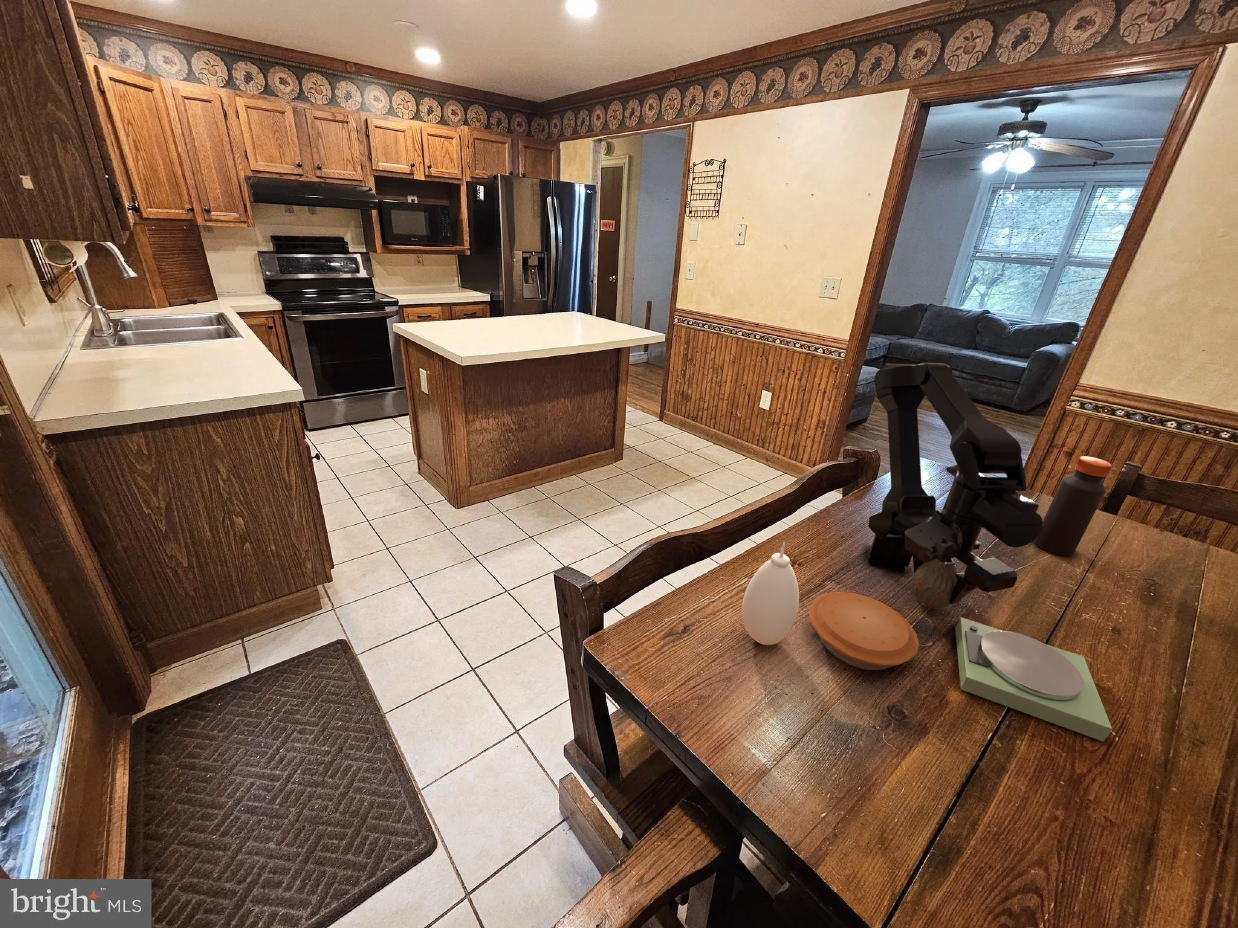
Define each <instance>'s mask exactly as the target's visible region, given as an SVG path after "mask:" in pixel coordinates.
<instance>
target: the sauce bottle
mask: <svg viewBox="0 0 1238 928" xmlns="http://www.w3.org/2000/svg"><path fill="white" fill-rule="evenodd" d="M785 547H786V542H785V541H783V543H782V545H781V548H780V552H776V553H773V554H772V555H771V556H770V559H768V560H766V562H764V563H763V564H762V565H761V566H760V567H759V568H758V569H757V570H756V572H755V573H754V574H753V576H752V578H751V579H750V581H749V583H748V585H747V586H746V588H745V591H744V595H743V598H742V603H741V619H742V623H743V624H742V625H743V627H744V629H745V630H746V633H747V635H749V637H750V638H751V639H753V640H754V641H755V642H757V643H758V644H762V645H763V646H772V645H776V644H778V643H779V642H782V640H784V639H785V638H786V637H787V635H788V634H789V633H790V632H791V630H792V629H793V627H794V625H795V623H796V620H797V616H798V614H799V606H800V590H799V583H798V580H797V575H796V573H795V570H794V569H793V567H792V565H791V559H790V558H789V556H787V555H786V554H785Z"/></svg>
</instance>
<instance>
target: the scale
mask: <svg viewBox="0 0 1238 928" xmlns="http://www.w3.org/2000/svg"><path fill="white" fill-rule="evenodd" d="M954 630H955V631H954V632H955V642H956V651H957V662H958V672H959V674H958V675H959V684H960V690H961V691H963V692H966V693H970V694H973V695H975V696H978V697H980V698H983V699H985V700H988V701H991V702H994V703H997V704H999V705H1003V706H1005V707H1007V708H1010V709H1013V710H1016V711H1019V712H1021V713H1024V714H1027V715H1030V716H1032V717H1035V718H1038V719H1040V720H1043V721H1045V722H1048V723H1051V724H1054V725H1057V726H1059V727H1062V728H1064V729H1068V730H1070V731H1073V732H1075V733H1079V734H1081V735H1084V736H1087V737H1089V738H1092V739H1095V740H1097V741H1100V742H1104V741H1105V740H1106V739H1107V737H1108V736H1109V734H1111V732H1112V730H1113V727H1112V725H1111V722H1110V720H1109V717H1108V715H1107V712H1106V710H1105V706H1104V704H1103V702H1102V700H1101V697H1100V694H1099V691H1098V689H1097V687H1096V684H1095V681H1094V679H1093V676H1092V674H1091V671H1090V669H1089V666H1088V664H1087V661H1086V659H1085V657H1084V655H1081V654H1077V653H1074V652H1071V651H1068V650H1065V649H1062V648H1059V647H1056V646H1052V645H1049V644H1047V645H1048V646H1049V647H1051V648H1053V649H1054V650H1056V651H1057V652H1059V653H1060V654H1061V655H1063V656H1064V657H1065V658H1066V659H1068V660H1069V661H1070V662H1071V663H1072V664H1073V665H1074V666H1075V667H1076V669H1077V670H1078V671H1079V673H1080V675H1081V677H1082V679H1083V688H1082V690H1081V692H1080V693H1079V695H1078V696H1076V697H1075V698H1072V699H1068V700H1055V699H1049V698H1045V697H1041V696H1038V695H1035V694H1032V693H1030V692H1027V691H1025V690H1023V689H1021V688H1019V687H1017V686H1015V685H1013V684H1012V683H1010V682H1009V681H1007V680H1006V679H1004V678H1003V677H1001V676H1000V675H999V674H998V673H996V672H995V671H994V670H993V669H992V668H991V667H990V666H989V665H988V664H987V662H986V661H985V660H984V658H983V657H982V655H981V653H980V649H979V644H980V641H981V639H982V637H983V636H984V635H985V634H987V633H989V632H992V631H1003V629H1000V628H995V627H992V626H989V625H986V624H983V623H980V622H977V621H975V620H974V621H973V620H970V619H967V618H964V617H961V616H960V617H959V619H958V621H957V624H956V625H955V628H954Z"/></svg>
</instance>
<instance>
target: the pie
mask: <svg viewBox="0 0 1238 928" xmlns="http://www.w3.org/2000/svg"><path fill="white" fill-rule="evenodd" d="M808 611H809V613H808V619H809V621H810V623H811V626H812V628H813V629H814V631H815V632H816V633H817V635H818V637H819V639H820V641H821V643H822V644H823V646H824V647H825V648H826V650H827V651H828V652H829V653H830V654H832V655H833V656H834V657H835V658H837V659H838V660H840V661H841V662H844V663H845V664H847V665H849V666H852V667H855V668H858V669H861V670H868V671H882V670H886V669H888V668H891V667H896V666H899V665H902V664H904V663H906V662H907V663H908V662H909V661H910V660H912V659H913V658H914V657H915V656H916V655H917V654H918V651H919V647H920V642H919V637H918V634H917V632H916V631H915V629H914V628H913V627H912V625H911V624H910V623H909V622H908V621H907V620H906V618H905V617H904V616H903V615H902V614H900V612H898V611H896V610H895V609H894V608H892V607H890V606H889V605H888V604H885V603H882V602H881V601H879V600H876V599H874V598H872V597H869V596H867V595H863V594H860V593H856V592H848V591H830V592H825V593H821V594H820V595H819V596H818V597H817V598H815V599H814V600H813V602H812V603H811V605H810V606H809V608H808Z"/></svg>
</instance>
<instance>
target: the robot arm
mask: <svg viewBox="0 0 1238 928" xmlns="http://www.w3.org/2000/svg"><path fill="white" fill-rule="evenodd" d="M873 382H874V386H875V393H876V398H877V401H878V402H879V403H880V405H881V406H882V407H883V409H884V410H885V412H886V414H887V430H888V431H887V433H888V434H887V435H888V436H887V437H888V451H889V452H888V453H889V454H888V455H889V471H890V488H889V490H888V492H887V494H886V495H885V497H884V499H883V500H882V503H881V506H882V507H881V511H880V512H878V513H876V514H874V515H873V514H872V515H870V516H869V517H868V529H869V530H870V531H871V532H873V534H874V537H873V540H872V543H871V545H870V546H869V549H868V556H867V563H868V564H869V565H873V566H877V567H879V568H884V569H886V570H891V571H893V572H896V573H899V574H905V573H906V568H908V567H909V566H910V563H911V561H912V567H913V574H914V573H915V572H916V570H917V569H918V568H919V567H920V566H921V565H922V564H924V563H926V562H930V561H932V560H934V559H937V560H939V561H940V562H942V563H943V562H946V561H948V560H950V559H952V560H953V559H954V558H955V559H956V560H958V561H960V563H962V564H964V565H966V567H965V569H964V571H962V572H958V573H957V574H955V576H956V578H957V582H956V585H955V587H954V589H953V591H952V594H951V596H950V599H949V603H950V604H951V605H955V604H957V603H958V602H959V601H961V600H962V599H963V598H965V597H966V596H968V595H969V594H970V593H971V592H973V591H974V590H975V589H979V590H980V591H982V592H985V593H992V592H997V591H1002V590H1007V589H1013V588H1015V585H1016V583H1017V580H1018V573H1017V571H1016V570H1015V569H1014V568H1012V567H1010V566H1008V565H1007V564H1005V563H1003V561H1001V560H999V559H998V558H996V557H990V558H985V559H981V558H980V557H979V556H977V555H976V554H974V553H973V551H975V550H979V549H980V547H981V545H982V543H981V542H979V541H978V538H979V536H980V533H981V531H982V529H984V530H986V531H987V532H988V533H990V535H992V536H994V537H995V538H996V539H998V540H999V541H1000V542H1001V543H1003V544H1004V545H1005V546H1007V547H1009V548H1016V549H1017V548H1022V547H1025V546H1027V545H1029V544H1031V543H1032V542H1034V540H1035V539H1036V538H1037V537H1038V536H1039V535H1040V533H1041V531H1042V529H1043V526H1042V524H1043V517H1042V516H1041V515H1040V514H1039V513H1038V509H1039V507H1040V505H1039V503H1037V502H1035V501H1034V500H1032V499H1029V498H1027V497H1025V496H1023V495H1022V494H1020V493H1018V492H1026V491H1027V489H1028V488H1027V481H1026V479H1027V476H1026V472H1025V469H1024V464H1023V463H1024V462H1023V457H1022V451H1023V450H1022V446H1021V444H1020V442H1019V441H1018V440H1017V439H1016V438H1015V437H1014V436H1013V435H1012V434H1011V433H1009V431H1007V430H1006V429H1005V428H1004V427H1003V426H1000V425H999V424H996V423H994V422H992V421H990V420H988V419H987V418H986V417H985V416H984V415H983V414H982V412H981V411H980V410H979V409H978V407H977V406H976V405H975V403H974V402H973V400H972V399H971V397H970V396H969V395H968V394H967V392H966V390H965V389H964V388H963V387H962V385H961V384H960V383H959V382H958V379H956V377H955V376H954V375H953V370H952V367H951V366H950V365H948V364H946V363H944V362H943V363H941V362H921V363H917V364H911V363H910V364H909V363H907V364H906V363H885V364H883V365H882V366H881V367H880V369H878V370H877V371H876V372H875V375H874V378H873ZM925 397H926V399H927V400H928V402H929V403H930V405H931V406H932V407H933V409H934V411H935V412H936V414H937V415H938V417H939V418H940V420H941V421H942V423H943V424H944V426H945V427H946V429H947V431H948V432H949V435H950V436H951V439H950V442H949V449H950V452H951V454H952V457H953V459H954V461H955V463H956V464H954V465H951V466H948V467H946V468H945V470H946V472H947V473H948V474H949V475H951V476H953V481H952V483H951V485H950V489H949V491H948V494H947V497H946V499H945V502H944V505H943V507H942V509H937V499H936V497H935V496H934V495H928V493H927V492H926V490H925V489H924V488H923V484H922V467H921V450H920V433H919V432H920V431H919V430H920V429H919V414H918V413H919V412H918V409H919V408H920V406H921V404H922V402H923V401H924V400H925ZM985 474H1001V475H1003V474H1005V475H1006V476H986V475H985Z"/></svg>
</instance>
